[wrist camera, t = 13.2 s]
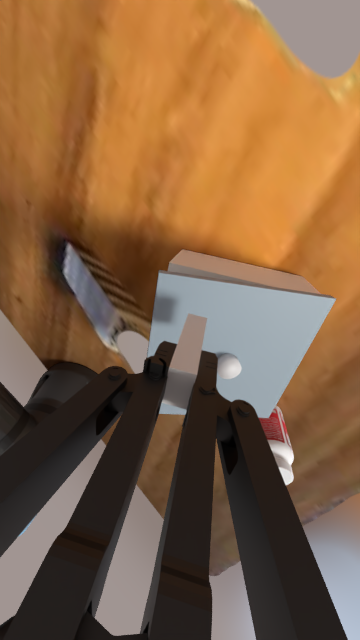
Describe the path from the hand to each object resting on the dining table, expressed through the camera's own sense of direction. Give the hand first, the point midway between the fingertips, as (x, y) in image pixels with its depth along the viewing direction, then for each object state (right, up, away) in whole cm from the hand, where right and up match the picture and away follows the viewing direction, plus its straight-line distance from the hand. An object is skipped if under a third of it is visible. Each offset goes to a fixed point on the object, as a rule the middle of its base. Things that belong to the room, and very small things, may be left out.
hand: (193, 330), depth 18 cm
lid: (+4, -3, +6) cm, 8 cm away
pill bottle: (+14, -16, +23) cm, 31 cm away
